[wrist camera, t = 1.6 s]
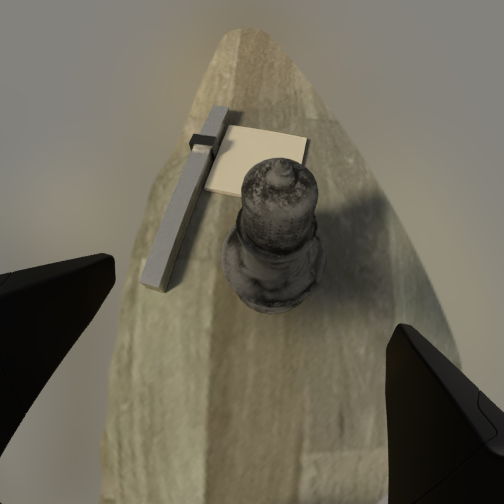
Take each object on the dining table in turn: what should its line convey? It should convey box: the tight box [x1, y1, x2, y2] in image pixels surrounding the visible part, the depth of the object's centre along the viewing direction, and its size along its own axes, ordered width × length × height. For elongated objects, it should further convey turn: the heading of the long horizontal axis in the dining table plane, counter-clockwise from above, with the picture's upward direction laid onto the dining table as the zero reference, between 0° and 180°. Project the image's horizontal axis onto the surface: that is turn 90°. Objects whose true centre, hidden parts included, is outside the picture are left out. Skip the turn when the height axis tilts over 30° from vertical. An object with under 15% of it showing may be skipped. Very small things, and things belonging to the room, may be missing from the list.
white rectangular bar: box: [140, 105, 230, 293], centre depth 23 cm, size 16×2×2 cm, turn 166°
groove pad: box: [204, 125, 307, 197], centre depth 24 cm, size 7×7×1 cm
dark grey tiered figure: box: [221, 158, 326, 314], centre depth 15 cm, size 6×6×12 cm
